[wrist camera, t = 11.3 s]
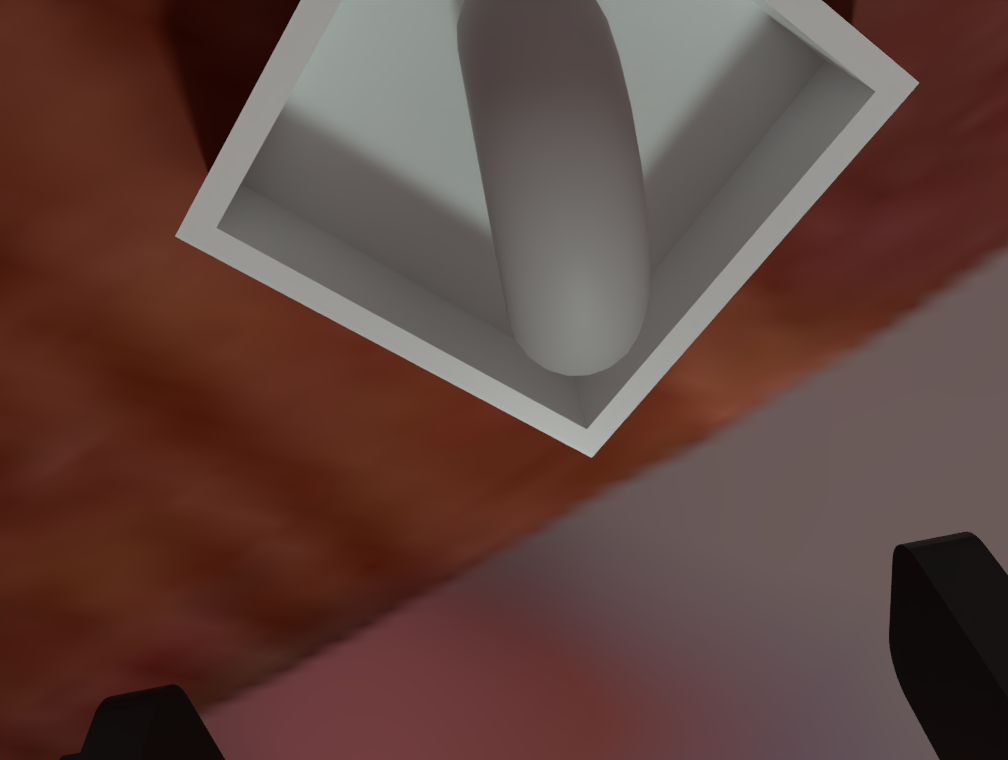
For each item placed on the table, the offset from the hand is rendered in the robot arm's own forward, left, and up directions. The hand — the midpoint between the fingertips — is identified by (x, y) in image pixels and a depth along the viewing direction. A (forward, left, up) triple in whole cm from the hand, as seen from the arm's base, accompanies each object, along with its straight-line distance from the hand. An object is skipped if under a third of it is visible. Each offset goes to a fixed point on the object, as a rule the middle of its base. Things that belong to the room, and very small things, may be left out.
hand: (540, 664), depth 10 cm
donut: (0, +2, -20) cm, 20 cm away
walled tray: (0, +2, -21) cm, 21 cm away
